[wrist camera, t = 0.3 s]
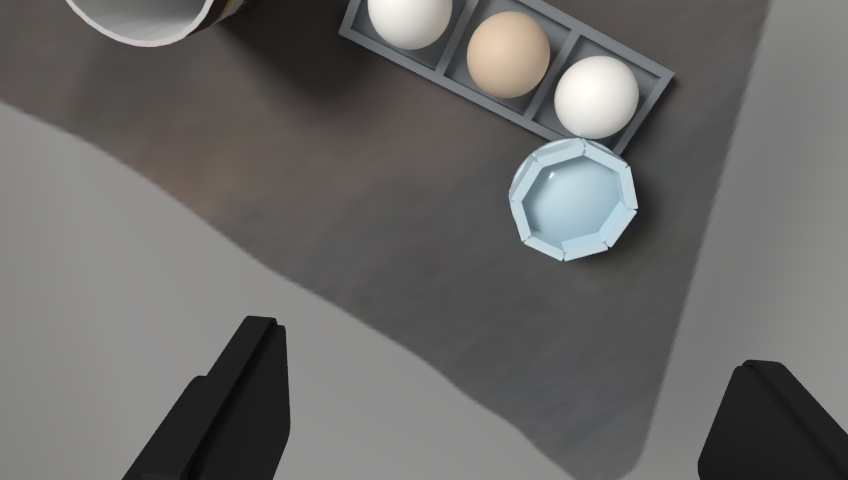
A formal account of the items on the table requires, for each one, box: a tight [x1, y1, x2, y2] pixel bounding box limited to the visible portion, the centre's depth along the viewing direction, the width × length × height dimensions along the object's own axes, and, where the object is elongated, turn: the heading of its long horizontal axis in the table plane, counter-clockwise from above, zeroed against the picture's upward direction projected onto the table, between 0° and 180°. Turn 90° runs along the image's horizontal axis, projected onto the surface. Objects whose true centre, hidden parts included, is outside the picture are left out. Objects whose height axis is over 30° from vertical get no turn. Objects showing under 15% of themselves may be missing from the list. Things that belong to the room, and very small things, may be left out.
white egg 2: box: [554, 56, 639, 139], centre depth 32 cm, size 5×5×5 cm
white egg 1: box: [368, 0, 452, 50], centre depth 31 cm, size 5×5×5 cm
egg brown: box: [467, 11, 550, 98], centre depth 32 cm, size 5×5×5 cm
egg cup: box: [508, 137, 638, 261], centre depth 35 cm, size 8×8×5 cm
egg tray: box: [338, 0, 675, 156], centre depth 34 cm, size 7×20×1 cm, turn 65°
